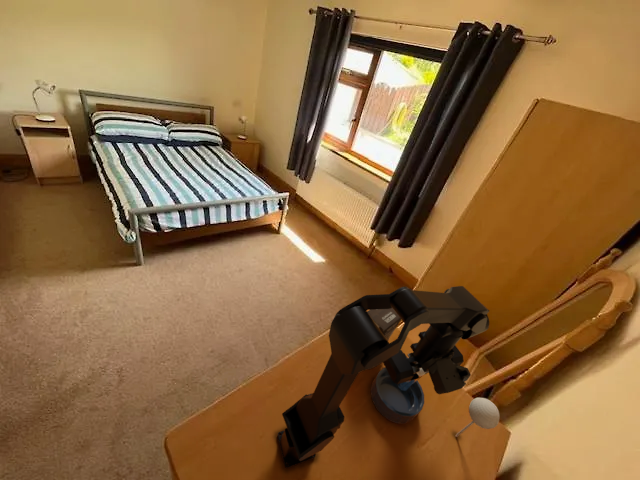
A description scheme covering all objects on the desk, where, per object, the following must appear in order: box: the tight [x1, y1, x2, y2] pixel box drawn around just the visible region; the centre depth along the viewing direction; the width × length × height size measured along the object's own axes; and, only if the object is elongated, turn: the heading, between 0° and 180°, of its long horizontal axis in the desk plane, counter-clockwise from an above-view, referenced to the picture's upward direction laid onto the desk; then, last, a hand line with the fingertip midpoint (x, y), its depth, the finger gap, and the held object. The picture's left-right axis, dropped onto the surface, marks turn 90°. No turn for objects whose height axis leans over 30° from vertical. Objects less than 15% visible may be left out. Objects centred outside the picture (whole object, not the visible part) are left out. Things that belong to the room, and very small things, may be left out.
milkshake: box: [397, 368, 429, 391], centre depth 70 cm, size 4×5×10 cm
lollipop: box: [454, 397, 501, 438], centre depth 69 cm, size 6×6×15 cm
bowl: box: [370, 366, 425, 425], centre depth 76 cm, size 12×12×4 cm
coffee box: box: [367, 308, 402, 341], centre depth 81 cm, size 9×6×16 cm
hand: (408, 379), depth 71 cm, fingers closed on milkshake, 4 cm apart
